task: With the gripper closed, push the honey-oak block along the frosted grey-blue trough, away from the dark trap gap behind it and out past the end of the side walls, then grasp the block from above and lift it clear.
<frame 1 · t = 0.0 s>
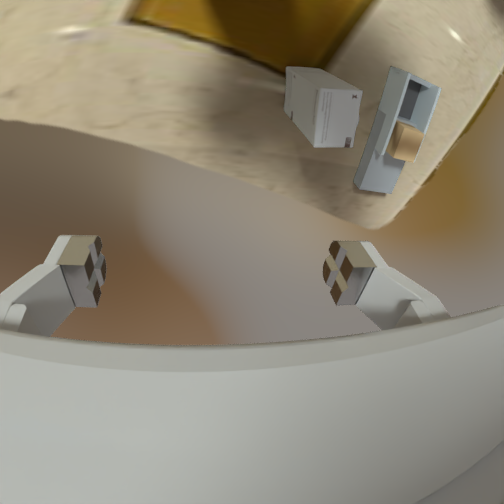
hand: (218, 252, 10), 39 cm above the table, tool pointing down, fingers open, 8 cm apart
skincare box: (301, 90, 41), on the table
oak block: (397, 136, 45), point 3 cm above the table, touching trap trough
trap trough: (391, 123, 46), on the table
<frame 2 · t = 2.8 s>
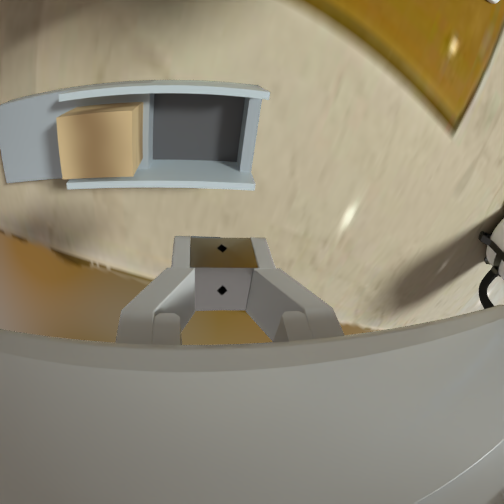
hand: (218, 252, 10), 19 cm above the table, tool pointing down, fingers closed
oak block: (109, 131, 20), point 3 cm above the table, touching trap trough
trap trough: (133, 123, 23), on the table
coffee press: (494, 235, 42), on the table
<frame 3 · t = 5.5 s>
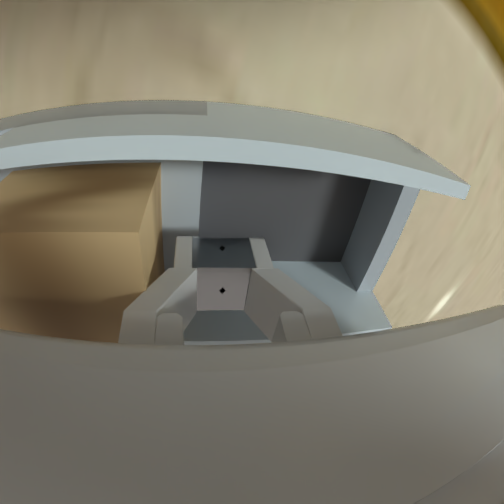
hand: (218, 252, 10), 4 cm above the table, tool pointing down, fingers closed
oak block: (86, 226, 10), point 3 cm above the table, touching gripper
trap trough: (155, 190, 12), on the table
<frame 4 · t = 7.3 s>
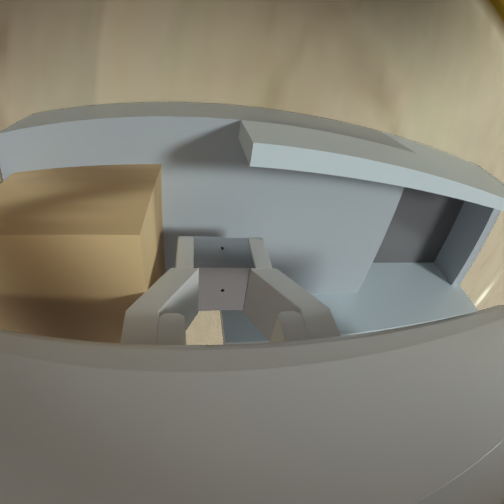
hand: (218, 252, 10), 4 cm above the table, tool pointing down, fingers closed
oak block: (87, 228, 10), point 3 cm above the table, touching gripper, trap trough
trap trough: (323, 200, 14), on the table
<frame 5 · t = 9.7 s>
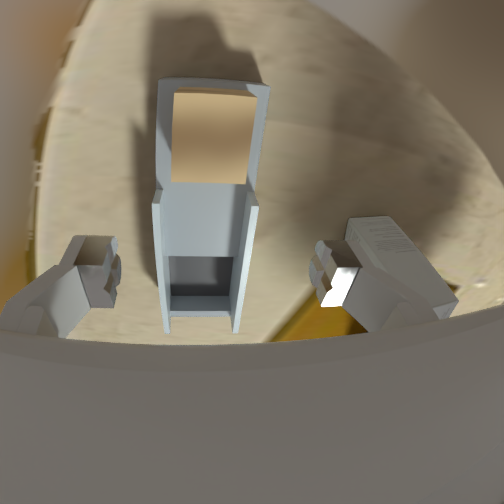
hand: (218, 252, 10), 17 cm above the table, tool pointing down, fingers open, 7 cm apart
skincare box: (361, 241, 34), on the table
oak block: (210, 125, 20), point 3 cm above the table, touching trap trough
trap trough: (202, 221, 29), on the table
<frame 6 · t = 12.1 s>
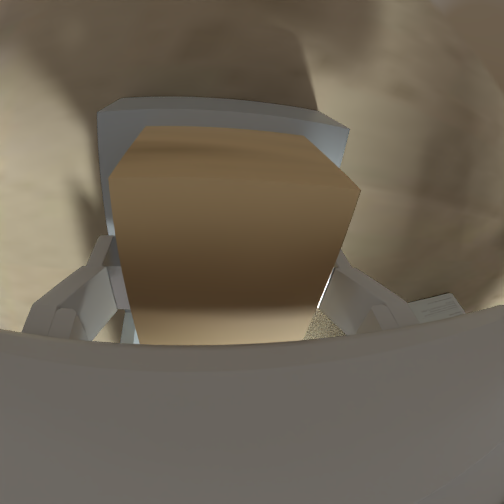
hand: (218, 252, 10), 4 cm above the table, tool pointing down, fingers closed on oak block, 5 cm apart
skincare box: (412, 322, 24), on the table
oak block: (218, 211, 10), point 3 cm above the table, touching gripper, trap trough
trap trough: (205, 327, 19), on the table
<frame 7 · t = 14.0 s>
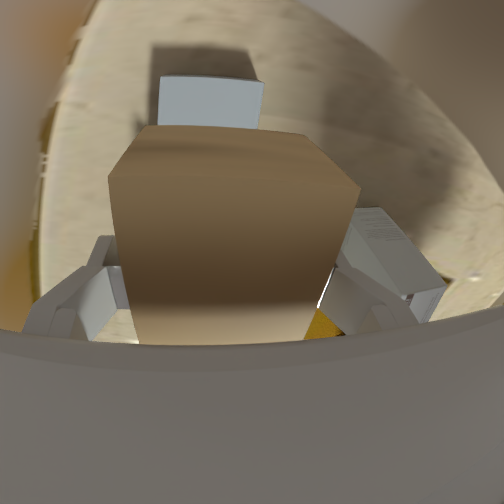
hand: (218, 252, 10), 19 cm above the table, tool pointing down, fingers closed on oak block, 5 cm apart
skincare box: (353, 231, 35), on the table
oak block: (218, 210, 10), point 18 cm above the table, touching gripper
trap trough: (200, 211, 30), on the table
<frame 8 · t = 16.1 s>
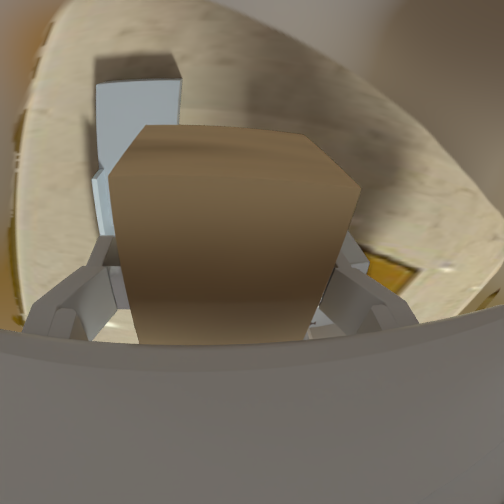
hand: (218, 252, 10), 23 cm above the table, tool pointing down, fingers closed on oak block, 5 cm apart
skincare box: (293, 215, 37), on the table
oak block: (218, 210, 10), point 22 cm above the table, touching gripper
trap trough: (142, 197, 32), on the table
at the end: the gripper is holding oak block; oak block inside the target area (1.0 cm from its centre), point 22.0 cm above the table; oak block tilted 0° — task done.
